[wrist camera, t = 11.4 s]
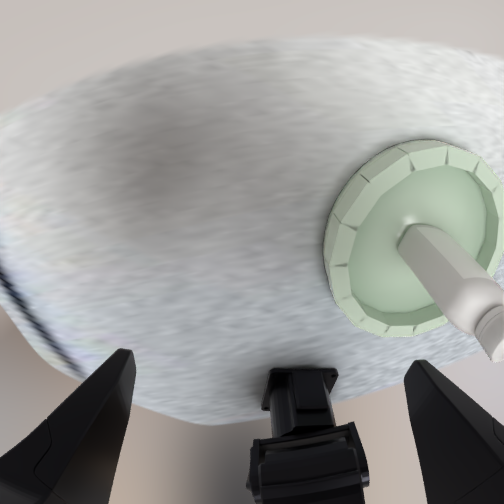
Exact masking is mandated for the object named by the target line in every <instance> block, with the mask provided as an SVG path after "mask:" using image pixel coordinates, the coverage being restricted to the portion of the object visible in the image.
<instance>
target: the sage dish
mask: <svg viewBox="0 0 504 504" xmlns="http://www.w3.org/2000/svg"><path fill="white" fill-rule="evenodd" d="M413 225H430V226H434V227H437V228H439V229H441V230H443V231H444V232H446V233H447V234H448V235H450V236H451V237H452V238H453V239H454V240H455V241H456V242H457V243H458V244H459V245H460V246H461V247H462V248H463V249H464V250H465V251H466V252H468V253H469V254H470V255H471V256H472V257H473V258H474V259H475V260H476V261H477V262H478V263H479V264H480V265H481V266H482V268H483V269H484V270H485V271H486V272H487V273H488V274H489V275H490V276H491V277H493V275H494V273H495V271H496V269H497V266H498V264H499V262H500V260H501V257H502V255H503V252H504V189H503V185H502V182H501V180H500V179H499V178H498V176H497V175H496V174H495V173H494V171H493V170H492V169H491V168H490V167H489V166H488V164H487V163H486V162H485V161H484V160H483V159H482V157H480V156H478V155H476V154H474V153H472V152H469V151H467V150H464V149H462V148H459V147H456V146H453V145H450V144H448V143H445V142H441V141H437V140H414V141H408V142H404V143H401V144H398V145H395V146H393V147H391V148H388V149H386V150H384V151H383V152H381V153H379V154H378V155H376V156H375V157H373V158H372V159H371V160H369V161H368V162H367V163H366V164H364V165H363V166H362V167H361V168H360V169H359V170H358V171H357V172H356V173H355V174H354V175H353V176H352V177H351V179H350V180H349V181H348V183H347V184H346V185H345V187H344V188H343V189H342V191H341V193H340V195H339V196H338V198H337V200H336V201H335V204H334V206H333V208H332V211H331V213H330V215H329V219H328V222H327V225H326V229H325V235H324V242H323V257H324V265H325V269H326V273H327V277H328V280H329V285H330V289H331V292H332V295H333V297H334V300H335V303H336V304H337V305H338V306H339V308H340V309H341V310H342V311H343V313H344V314H345V315H346V316H347V317H348V319H349V320H350V321H351V322H352V324H353V325H354V326H355V327H358V328H360V329H363V330H365V331H367V332H370V333H372V334H375V335H377V336H380V337H412V336H415V335H418V334H421V333H424V332H427V331H429V330H432V329H435V328H437V327H440V326H442V325H444V324H446V323H447V322H448V321H449V320H448V319H447V318H446V317H445V315H444V314H443V313H442V311H441V310H440V308H439V307H438V306H437V304H436V303H435V302H434V300H433V299H432V297H431V296H430V295H429V293H428V292H427V290H426V289H425V288H424V286H423V285H422V284H421V282H420V281H419V280H418V278H417V277H416V276H415V274H414V273H413V271H412V270H411V269H410V268H409V266H408V265H407V264H406V262H405V261H404V260H403V258H402V257H401V256H400V254H399V252H398V247H399V244H400V243H401V241H402V239H403V237H404V235H405V234H406V232H407V230H408V229H409V228H410V227H411V226H413Z"/></svg>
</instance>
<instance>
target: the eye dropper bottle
mask: <svg viewBox="0 0 504 504" xmlns="http://www.w3.org/2000/svg"><path fill="white" fill-rule="evenodd" d="M398 252H399V254H400V256H401V257H402V258H403V260H404V261H405V262H406V264H407V265H408V266H409V268H410V269H411V270H412V271H413V273H414V274H415V276H416V277H417V278H418V280H419V281H420V282H421V284H422V285H423V286H424V288H425V289H426V290H427V292H428V293H429V295H430V296H431V297H432V299H433V300H434V302H435V303H436V304H437V306H438V307H439V308H440V310H441V311H442V313H443V314H444V315H445V317H446V318H447V319H448V320H449V322H450V323H451V324H452V325H453V326H455V327H456V328H457V329H458V330H460V331H462V332H464V333H466V334H469V335H472V336H475V337H476V338H477V340H478V341H479V343H480V344H481V346H482V347H483V349H484V350H485V352H486V353H487V355H488V357H489V358H490V360H491V361H492V362H501V361H503V360H504V290H503V289H502V288H501V287H500V286H499V284H498V283H497V282H496V281H495V280H494V279H493V278H492V277H491V276H490V275H489V274H488V273H487V272H486V271H485V270H484V269H483V268H482V266H481V265H480V264H479V263H478V262H477V261H476V260H475V259H474V258H473V257H472V256H471V255H470V254H469V253H468V252H466V251H465V250H464V249H463V248H462V247H461V246H460V245H459V244H458V243H457V242H456V241H455V240H454V239H453V238H452V237H451V236H450V235H448V234H447V233H446V232H444V231H443V230H441V229H439V228H437V227H434V226H430V225H413V226H411V227H410V228H409V229H408V230H407V232H406V234H405V235H404V237H403V239H402V241H401V243H400V244H399V247H398Z"/></svg>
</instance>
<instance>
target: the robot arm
mask: <svg viewBox="0 0 504 504" xmlns="http://www.w3.org/2000/svg"><path fill="white" fill-rule="evenodd" d="M135 377H136V365H135V360H134V355H133V352H132V350H129V349H123V348H120V349H118V350H117V351H115V352H114V353H113V354H112V355H111V356H110V357H109V358H108V359H107V360H106V361H105V362H104V363H103V364H102V365H101V366H100V367H99V368H98V369H97V370H95V371H94V372H93V373H92V374H91V375H90V376H89V377H88V378H87V379H86V380H85V381H84V382H83V383H82V384H81V385H80V386H79V387H78V388H77V389H76V390H75V391H74V392H73V393H72V394H71V395H70V396H69V397H68V398H66V399H65V400H64V402H62V403H61V404H60V405H59V406H58V407H57V408H56V409H55V410H54V411H53V412H52V413H51V414H50V415H49V416H48V417H47V419H45V420H44V421H43V422H42V423H41V424H40V425H39V426H38V427H37V428H36V429H34V431H32V432H31V433H30V434H29V435H28V436H27V437H26V438H24V439H23V440H22V441H21V442H19V443H18V444H17V445H16V446H14V447H13V448H12V449H11V450H9V451H8V452H7V453H5V454H4V455H3V456H1V457H0V504H108V503H109V498H110V493H111V488H112V485H113V480H114V476H115V472H116V467H117V463H118V459H119V455H120V451H121V447H122V444H123V440H124V436H125V432H126V428H127V425H128V421H129V416H130V410H131V403H132V396H133V390H134V384H135ZM337 377H338V371H337V370H335V369H272V370H270V372H269V375H268V380H267V384H266V388H265V392H264V396H263V400H262V404H261V409H262V410H263V411H270V414H271V426H272V438H269V439H254V440H253V447H252V448H251V449H250V456H251V457H250V458H251V460H250V469H249V473H248V478H247V482H246V488H247V489H248V490H249V491H250V492H251V493H252V495H253V497H254V500H255V502H256V504H365V500H364V492H363V488H364V487H368V486H369V470H368V464H367V460H366V456H365V452H364V449H363V447H362V443H361V441H360V438H359V435H358V432H357V429H356V426H355V423H354V422H350V423H348V424H345V425H341V426H336V423H335V418H334V414H333V409H332V405H331V400H330V396H329V394H330V392H331V390H332V388H333V386H334V384H335V382H336V380H337ZM404 385H405V392H406V398H407V405H408V411H409V417H410V422H411V427H412V431H413V435H414V439H415V443H416V448H417V452H418V457H419V462H420V466H421V471H422V476H423V481H424V486H425V492H426V497H427V503H428V504H504V426H503V425H502V424H501V423H499V422H498V421H497V420H496V419H495V418H493V417H492V416H491V415H490V414H489V413H488V412H486V411H485V410H484V409H483V408H482V407H481V406H480V405H479V404H477V403H476V402H475V401H474V400H473V399H472V398H470V397H469V396H468V395H467V394H466V393H465V392H463V391H462V390H461V389H459V387H457V386H456V385H455V384H454V383H453V382H451V381H450V380H449V379H448V378H447V377H446V376H444V375H443V374H442V373H441V372H439V371H438V370H437V369H436V368H435V367H434V366H432V365H431V364H430V363H429V362H428V361H426V360H415V361H414V362H413V363H412V365H411V366H410V368H409V370H408V371H407V373H406V374H405V377H404Z"/></svg>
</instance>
